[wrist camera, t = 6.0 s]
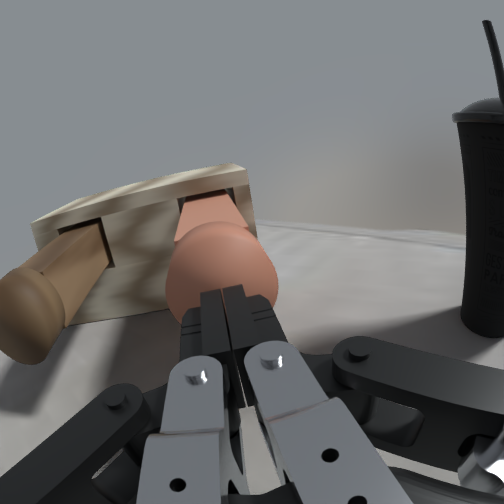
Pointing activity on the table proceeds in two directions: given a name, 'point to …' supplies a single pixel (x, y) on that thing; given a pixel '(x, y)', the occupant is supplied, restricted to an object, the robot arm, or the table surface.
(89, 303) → the socket block
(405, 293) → the table surface
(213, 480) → the robot arm
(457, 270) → the table surface
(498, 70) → the drinking cup
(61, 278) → the walnut plug
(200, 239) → the terracotta plug
